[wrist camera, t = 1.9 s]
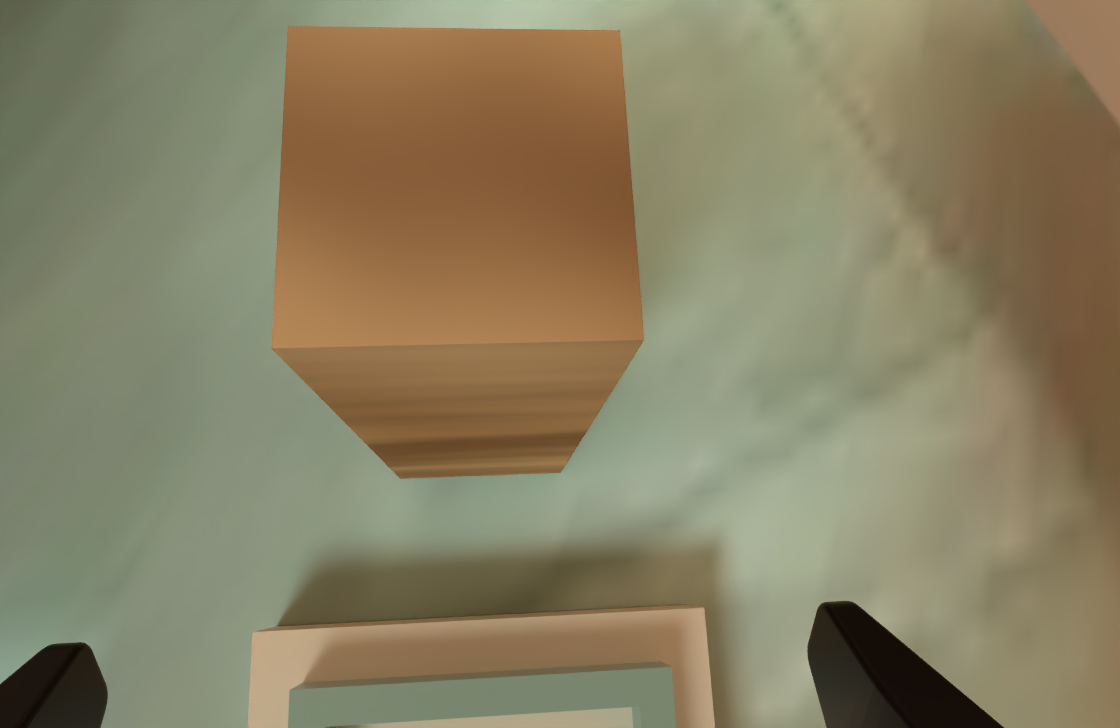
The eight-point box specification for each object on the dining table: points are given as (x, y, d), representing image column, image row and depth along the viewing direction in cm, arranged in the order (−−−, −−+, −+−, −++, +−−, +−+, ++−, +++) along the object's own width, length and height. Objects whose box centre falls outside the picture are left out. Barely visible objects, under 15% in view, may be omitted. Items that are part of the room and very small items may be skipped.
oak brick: (560, 472, 22) (643, 339, 10) (400, 478, 22) (271, 348, 9) (553, 322, 23) (619, 30, 11) (401, 325, 23) (287, 26, 10)
